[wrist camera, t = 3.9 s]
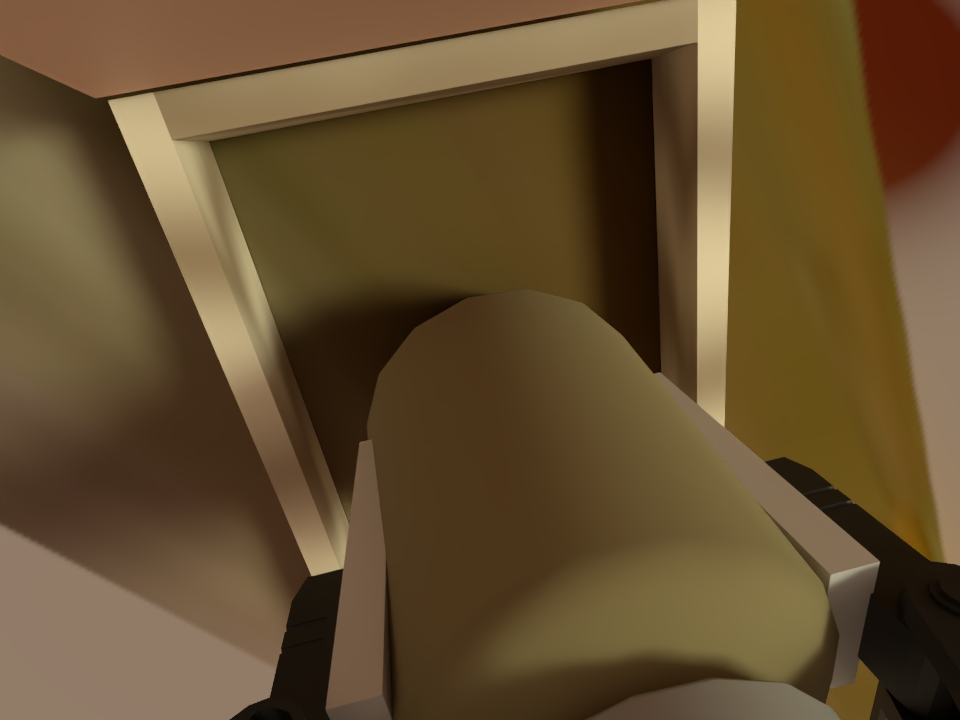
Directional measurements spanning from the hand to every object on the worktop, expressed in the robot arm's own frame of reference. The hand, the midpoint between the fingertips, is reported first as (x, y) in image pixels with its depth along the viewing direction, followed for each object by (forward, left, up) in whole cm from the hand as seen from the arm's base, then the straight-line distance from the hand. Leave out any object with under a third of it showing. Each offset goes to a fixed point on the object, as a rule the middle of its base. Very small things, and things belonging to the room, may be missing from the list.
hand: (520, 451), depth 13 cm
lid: (-12, 0, +8) cm, 14 cm away
